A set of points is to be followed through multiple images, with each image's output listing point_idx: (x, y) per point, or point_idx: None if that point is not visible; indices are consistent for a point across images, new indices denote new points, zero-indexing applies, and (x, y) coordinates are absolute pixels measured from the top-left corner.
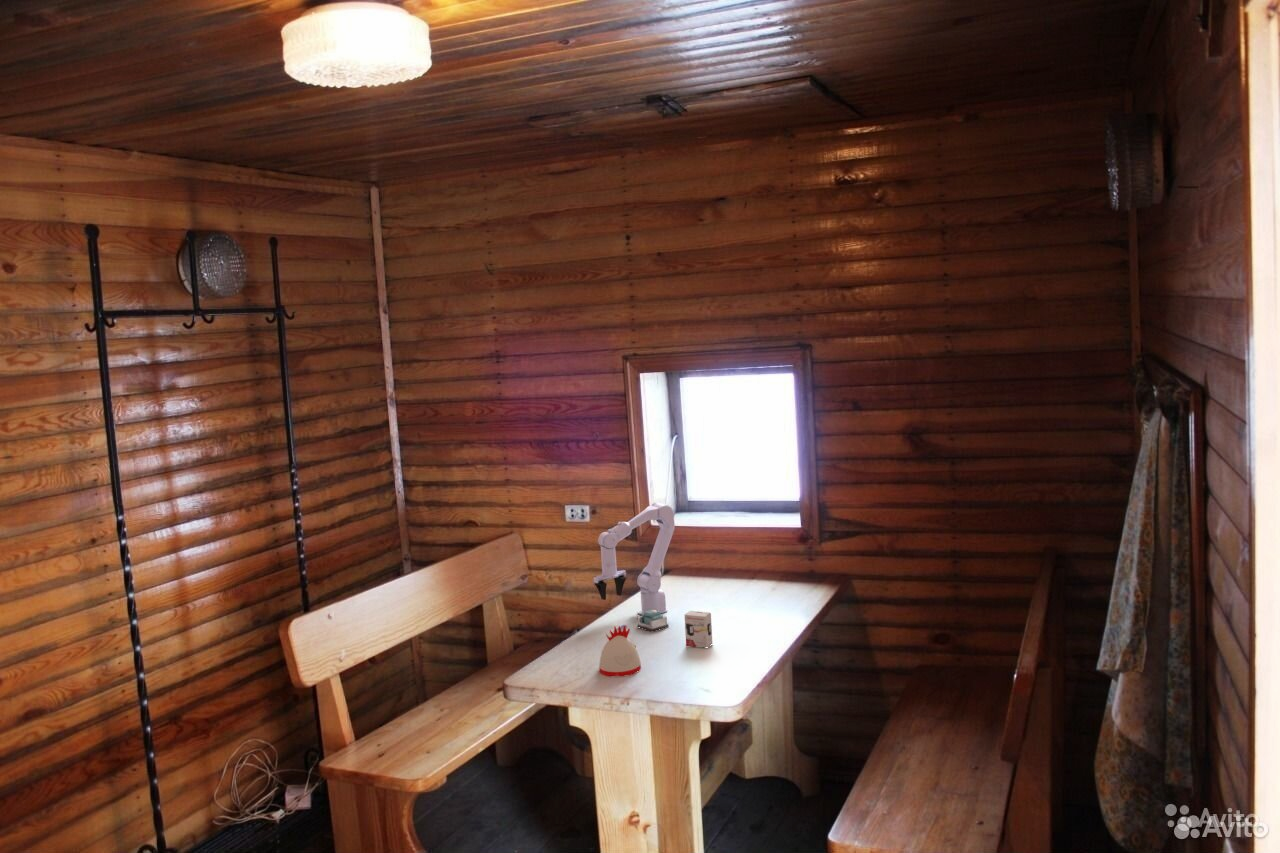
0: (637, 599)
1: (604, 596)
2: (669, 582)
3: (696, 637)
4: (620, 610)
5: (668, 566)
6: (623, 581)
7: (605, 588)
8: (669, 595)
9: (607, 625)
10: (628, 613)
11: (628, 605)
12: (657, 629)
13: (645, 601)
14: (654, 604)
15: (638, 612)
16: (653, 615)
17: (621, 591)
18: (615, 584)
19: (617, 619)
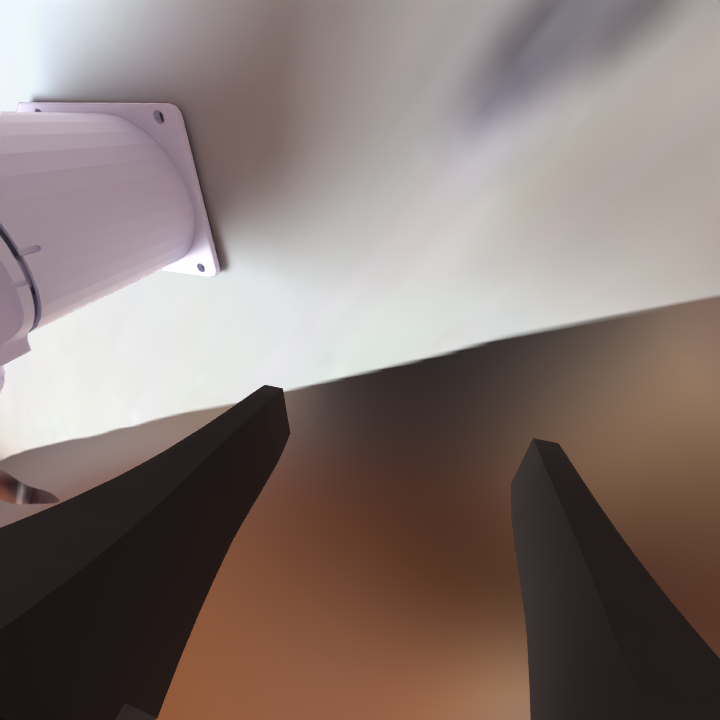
0: (141, 420)
1: (586, 488)
2: (4, 434)
3: None
4: None
5: (5, 495)
6: (31, 547)
7: (649, 674)
8: None
9: (558, 246)
10: (260, 324)
11: (201, 405)
12: None
13: (83, 191)
14: (33, 113)
15: (211, 264)
16: None
17: (232, 413)
18: (218, 567)
19: (385, 295)
